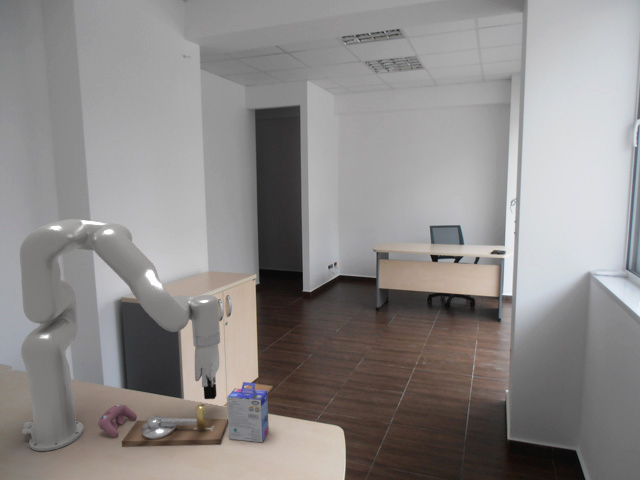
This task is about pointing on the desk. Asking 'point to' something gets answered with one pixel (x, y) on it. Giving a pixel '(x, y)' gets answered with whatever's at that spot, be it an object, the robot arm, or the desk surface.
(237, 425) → the ink cartridge box
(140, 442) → the stand plate
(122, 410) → the video game controller
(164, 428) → the silver lever with knob
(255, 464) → the desk surface
